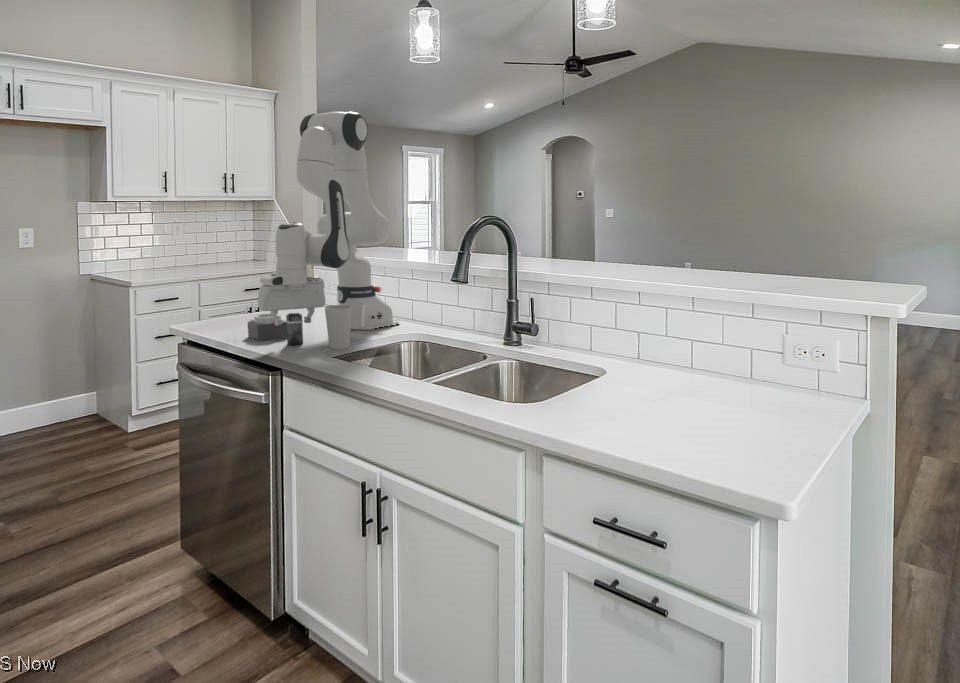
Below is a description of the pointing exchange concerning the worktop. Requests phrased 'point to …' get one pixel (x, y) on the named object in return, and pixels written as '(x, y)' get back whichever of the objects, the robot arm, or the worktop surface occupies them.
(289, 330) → the lens
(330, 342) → the cup
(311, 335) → the worktop surface
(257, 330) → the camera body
